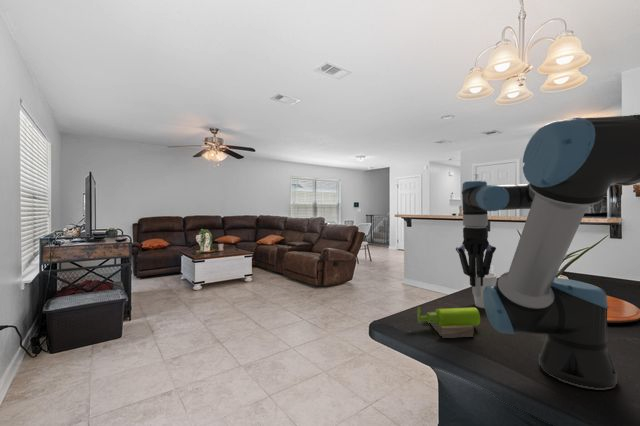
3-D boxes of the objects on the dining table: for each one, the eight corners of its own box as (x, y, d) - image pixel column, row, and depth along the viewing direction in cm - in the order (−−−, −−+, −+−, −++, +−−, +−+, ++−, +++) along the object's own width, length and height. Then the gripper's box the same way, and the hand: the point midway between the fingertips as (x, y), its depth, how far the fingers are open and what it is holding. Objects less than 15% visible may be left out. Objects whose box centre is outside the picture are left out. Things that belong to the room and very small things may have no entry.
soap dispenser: (479, 306, 103) (420, 309, 102) (480, 327, 102) (421, 330, 102) (471, 302, 109) (414, 304, 108) (472, 322, 108) (415, 324, 108)
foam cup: (465, 304, 128) (465, 273, 127) (481, 300, 131) (480, 270, 131) (486, 311, 119) (486, 278, 118) (502, 307, 123) (501, 275, 122)
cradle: (473, 337, 98) (473, 326, 98) (442, 339, 98) (442, 328, 98) (454, 320, 112) (454, 310, 112) (427, 321, 112) (426, 312, 112)
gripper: (487, 225, 107) (489, 291, 108) (451, 226, 107) (452, 293, 108) (501, 226, 100) (502, 298, 101) (461, 228, 100) (463, 300, 101)
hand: (476, 295), depth 104 cm, fingers closed
